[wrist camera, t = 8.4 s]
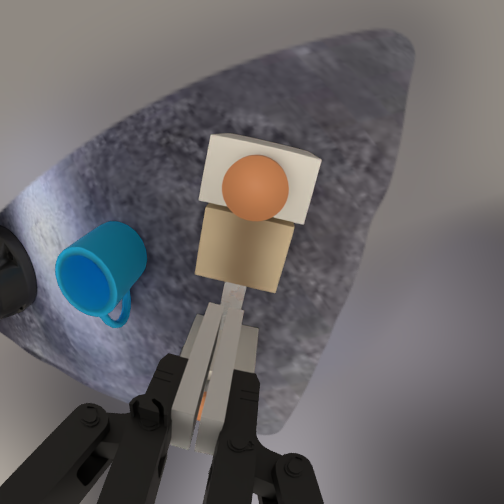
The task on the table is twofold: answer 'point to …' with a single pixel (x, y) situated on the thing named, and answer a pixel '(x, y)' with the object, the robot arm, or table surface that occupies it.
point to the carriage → (242, 248)
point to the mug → (102, 270)
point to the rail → (231, 299)
